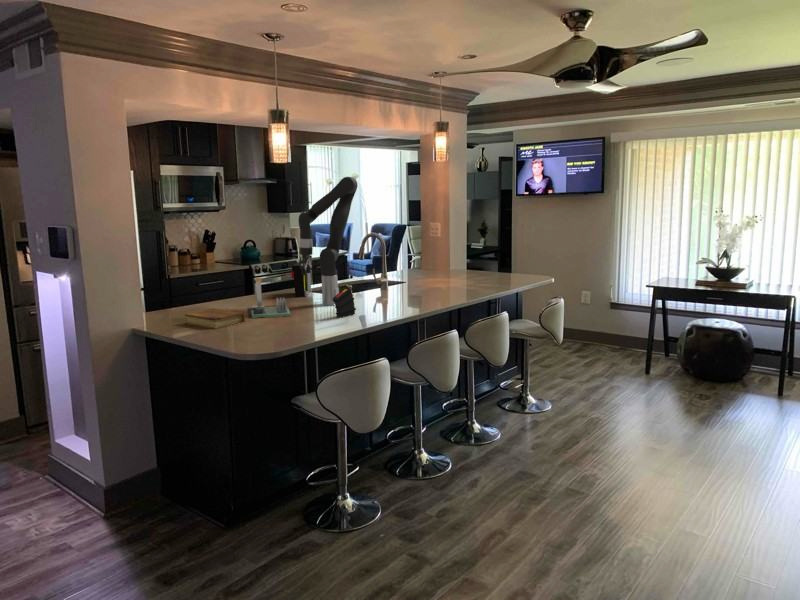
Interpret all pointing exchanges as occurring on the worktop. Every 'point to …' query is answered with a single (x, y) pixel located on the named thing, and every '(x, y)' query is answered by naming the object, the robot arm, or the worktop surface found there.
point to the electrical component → (301, 281)
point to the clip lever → (259, 294)
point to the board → (271, 313)
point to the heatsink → (280, 309)
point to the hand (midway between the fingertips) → (305, 274)
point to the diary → (214, 318)
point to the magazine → (344, 303)
